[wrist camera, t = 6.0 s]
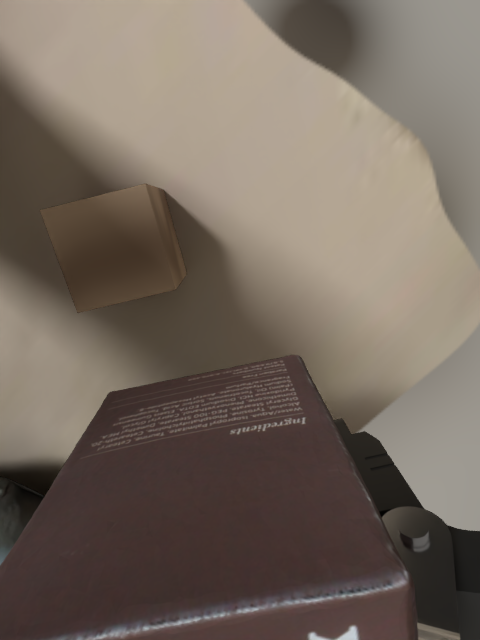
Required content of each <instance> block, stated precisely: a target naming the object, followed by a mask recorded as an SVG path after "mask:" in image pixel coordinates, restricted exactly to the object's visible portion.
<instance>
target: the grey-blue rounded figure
mask: <svg viewBox="0 0 480 640" xmlns="http://www.w3.org/2000/svg"><path fill="white" fill-rule="evenodd" d="M44 497H45V496H44V495H42V494H40V493H38V492H36V491H34V490H32V489H30V488H28V487H26V486H24V485H22V484H19V483H17V482H15V481H13V480H10V479H5V478H3V477H0V565H1V564H2V562H3V561H4V559H5V558H6V556H7V555H8V553H9V552H10V550H11V549H12V547H13V546H14V544H15V543H16V541H17V540H18V538H19V536H20V535H21V533H22V532H23V530H24V528H25V527H26V525H27V524H28V522H29V521H30V519H31V518H32V516H33V514H34V512H35V511H36V509H37V508H38V506H39V505H40V503H41V501H42V500H43V498H44Z"/></svg>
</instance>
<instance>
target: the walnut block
mask: <svg viewBox="0 0 480 640" xmlns="http://www.w3.org/2000/svg"><path fill="white" fill-rule="evenodd" d="M40 212H41V215H42V218H43V221H44V223H45V226H46V229H47V231H48V234H49V237H50V240H51V242H52V245H53V248H54V250H55V253H56V256H57V259H58V261H59V264H60V267H61V269H62V272H63V275H64V277H65V280H66V283H67V286H68V288H69V291H70V294H71V296H72V299H73V302H74V305H75V307H76V310H77V313H80V312H84V311H88V310H93V309H97V308H101V307H105V306H109V305H114V304H118V303H122V302H126V301H130V300H135V299H139V298H143V297H147V296H151V295H156V294H160V293H164V292H168V291H172V290H176V289H177V287H178V286H179V284H180V283H181V282H182V280H183V279H184V277H185V276H186V275H187V272H186V268H185V265H184V261H183V258H182V254H181V250H180V247H179V243H178V240H177V236H176V232H175V229H174V225H173V221H172V218H171V214H170V211H169V207H168V203H167V200H166V196H165V192H164V190H162V189H160V188H157V187H154V186H151V185H148V184H142V185H138V186H134V187H130V188H126V189H122V190H118V191H114V192H110V193H106V194H102V195H98V196H94V197H90V198H86V199H82V200H78V201H74V202H70V203H66V204H62V205H58V206H54V207H50V208H46V209H42V210H40Z"/></svg>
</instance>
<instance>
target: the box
mask: <svg viewBox="0 0 480 640" xmlns="http://www.w3.org/2000/svg"><path fill="white" fill-rule="evenodd" d="M417 619H418V616H417V610H416V602H415V586H414V582H413V579H412V576H411V573H410V572H409V570H408V569H407V567H406V565H405V564H404V562H403V560H402V559H401V557H400V555H399V553H398V551H397V549H396V547H395V545H394V543H393V541H392V539H391V537H390V535H389V533H388V530H387V528H386V526H385V524H384V522H383V520H382V517H381V515H380V513H379V511H378V509H377V507H376V505H375V503H374V500H373V498H372V496H371V494H370V492H369V490H368V488H367V487H366V485H365V483H364V481H363V479H362V477H361V475H360V473H359V471H358V469H357V467H356V465H355V462H354V460H353V458H352V457H351V455H350V453H349V451H348V449H347V447H346V445H345V443H344V441H343V438H342V436H341V434H340V433H339V431H338V429H337V427H336V425H335V423H334V421H333V418H332V416H331V414H330V412H329V411H328V409H327V407H326V405H325V403H324V402H323V400H322V397H321V396H320V394H319V392H318V390H317V388H316V386H315V384H314V383H313V381H312V379H311V376H310V374H309V373H308V370H307V368H306V366H305V364H304V362H303V360H302V358H301V357H300V356H298V355H290V356H286V357H281V358H277V359H271V360H266V361H262V362H255V363H251V364H246V365H241V366H236V367H232V368H229V369H222V370H216V371H212V372H207V373H202V374H197V375H192V376H187V377H182V378H178V379H173V380H167V381H162V382H157V383H153V384H148V385H143V386H139V387H134V388H128V389H124V390H118V391H112V392H110V393H109V394H108V395H107V397H106V399H105V400H104V402H103V403H102V405H101V407H100V409H99V410H98V411H97V413H96V415H95V416H94V418H93V419H92V421H91V422H90V424H89V426H88V427H87V429H86V431H85V432H84V434H83V435H82V437H81V439H80V440H79V441H78V443H77V445H76V447H75V448H74V450H73V452H72V453H71V455H70V456H69V458H68V459H67V461H66V462H65V464H64V466H63V467H62V469H61V470H60V472H59V473H58V475H57V477H56V478H55V480H54V482H53V484H52V486H51V487H50V489H49V490H48V492H47V494H46V495H45V497H44V498H43V500H42V501H41V503H40V505H39V506H38V508H37V509H36V511H35V512H34V514H33V516H32V518H31V519H30V521H29V522H28V524H27V525H26V527H25V528H24V530H23V532H22V533H21V535H20V536H19V538H18V540H17V541H16V543H15V544H14V546H13V547H12V549H11V550H10V552H9V553H8V555H7V556H6V558H5V559H4V561H3V562H2V564H1V565H0V640H418V628H417Z"/></svg>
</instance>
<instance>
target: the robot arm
mask: <svg viewBox="0 0 480 640" xmlns="http://www.w3.org/2000/svg"><path fill="white" fill-rule="evenodd" d="M333 421H334V423H335V425H336V427H337V429H338V431H339V433H340V434H341V436H342V438H343V441H344V443H345V445H346V447H347V449H348V451H349V453H350V455H351V457H352V458H353V460H354V462H355V465H356V467H357V469H358V471H359V473H360V475H361V477H362V479H363V481H364V483H365V485H366V487H367V488H368V490H369V492H370V494H371V496H372V498H373V500H374V503H375V505H376V507H377V509H378V511H379V513H380V515H381V517H382V520H383V522H384V524H385V526H386V528H387V530H388V533H389V535H390V537H391V539H392V541H393V543H394V545H395V547H396V549H397V551H398V553H399V555H400V557H401V559H402V560H403V562H404V564H405V565H406V567H407V569H408V570H409V572H410V573H411V576H412V579H413V582H414V586H415V602H416V610H417V616H418V619H417V628H418V640H480V531H468V530H461V529H457V528H454V527H451V526H447V525H446V524H445V523H444V521H442V519H440V518H439V517H438V516H437V515H435V514H433V513H432V512H430V511H428V510H425V509H424V508H423V507H422V505H421V503H420V502H419V500H418V499H417V497H416V496H415V494H414V493H413V491H412V490H411V488H410V487H409V485H408V484H407V482H406V481H405V479H404V478H403V476H402V475H401V473H400V472H399V470H398V469H397V467H396V466H395V465H394V462H393V461H392V459H391V458H390V456H389V455H388V454H387V452H386V450H385V449H384V447H383V446H382V444H381V443H380V441H379V440H377V439H376V438H375V437H373V436H371V435H370V434H368V433H367V432H360V433H355V434H351V433H350V431H349V429H348V427H347V426H346V424H345V422H344V420H343V419H342V418H341V419H337V420H333Z"/></svg>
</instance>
